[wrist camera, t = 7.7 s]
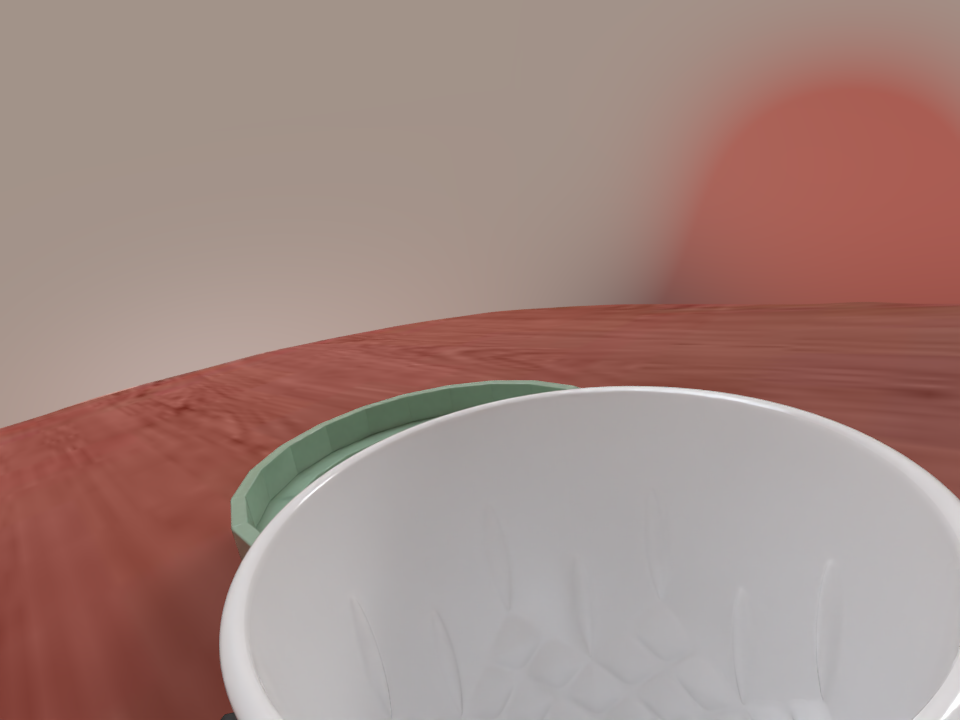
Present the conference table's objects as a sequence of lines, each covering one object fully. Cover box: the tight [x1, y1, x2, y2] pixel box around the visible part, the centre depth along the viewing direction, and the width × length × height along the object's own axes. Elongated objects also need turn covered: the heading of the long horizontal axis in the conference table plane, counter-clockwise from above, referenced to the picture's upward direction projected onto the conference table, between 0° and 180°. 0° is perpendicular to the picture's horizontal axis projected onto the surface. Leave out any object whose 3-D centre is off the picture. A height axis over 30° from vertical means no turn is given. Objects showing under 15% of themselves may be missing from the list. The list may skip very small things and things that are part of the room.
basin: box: [231, 380, 579, 561], centre depth 25 cm, size 17×17×4 cm
